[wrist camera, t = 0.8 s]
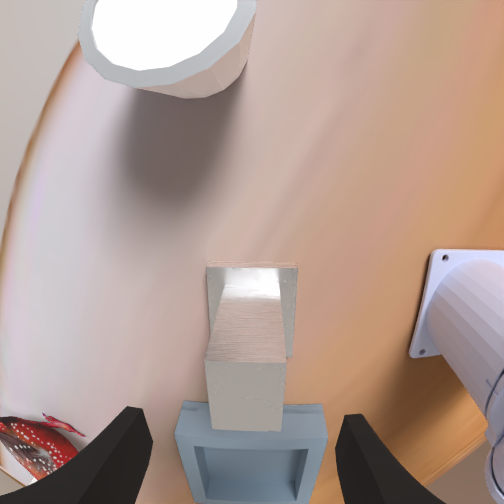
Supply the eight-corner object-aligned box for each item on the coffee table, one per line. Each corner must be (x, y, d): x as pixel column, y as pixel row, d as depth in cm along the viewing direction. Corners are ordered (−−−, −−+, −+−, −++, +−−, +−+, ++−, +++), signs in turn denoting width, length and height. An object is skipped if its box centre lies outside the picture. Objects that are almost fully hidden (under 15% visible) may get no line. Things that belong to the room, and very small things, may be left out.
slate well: (321, 403, 22) (328, 437, 18) (305, 477, 25) (307, 505, 22) (183, 400, 22) (174, 433, 19) (199, 475, 26) (194, 502, 22)
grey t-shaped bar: (296, 261, 18) (316, 339, 11) (290, 348, 20) (301, 443, 13) (209, 261, 18) (174, 336, 11) (214, 346, 20) (192, 440, 13)
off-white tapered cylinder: (211, 133, 16) (178, 123, 10) (117, 76, 15) (48, 49, 9) (285, 36, 14) (297, -24, 8) (186, -14, 13) (151, -78, 7)
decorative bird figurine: (122, 456, 25) (93, 532, 16) (-11, 383, 24) (-56, 435, 15) (124, 442, 25) (91, 524, 15) (-15, 366, 23) (-65, 419, 14)
